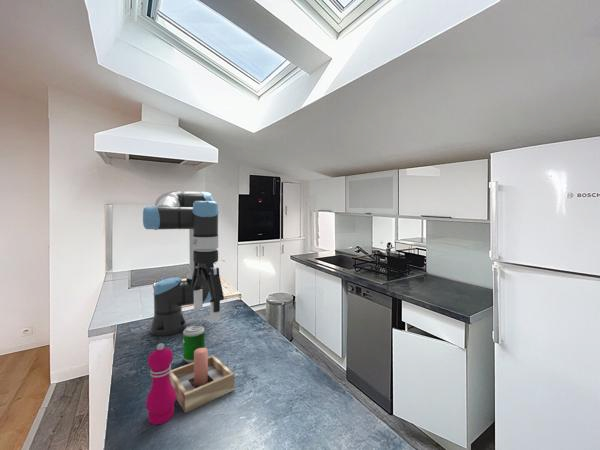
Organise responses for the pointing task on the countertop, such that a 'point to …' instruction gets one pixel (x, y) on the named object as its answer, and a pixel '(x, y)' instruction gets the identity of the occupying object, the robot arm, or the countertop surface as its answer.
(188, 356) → the soda can
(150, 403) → the pepper mill
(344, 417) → the countertop surface
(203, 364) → the peg
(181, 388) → the box
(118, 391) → the countertop surface
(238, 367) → the countertop surface
